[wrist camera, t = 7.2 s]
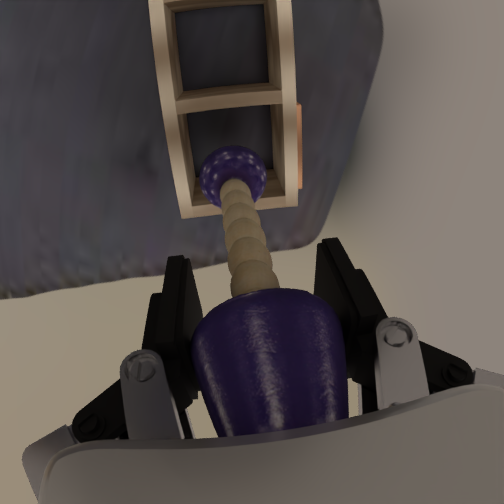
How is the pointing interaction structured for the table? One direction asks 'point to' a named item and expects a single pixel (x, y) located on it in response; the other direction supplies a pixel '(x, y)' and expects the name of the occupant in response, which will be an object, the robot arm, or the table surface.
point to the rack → (230, 103)
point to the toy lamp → (263, 324)
